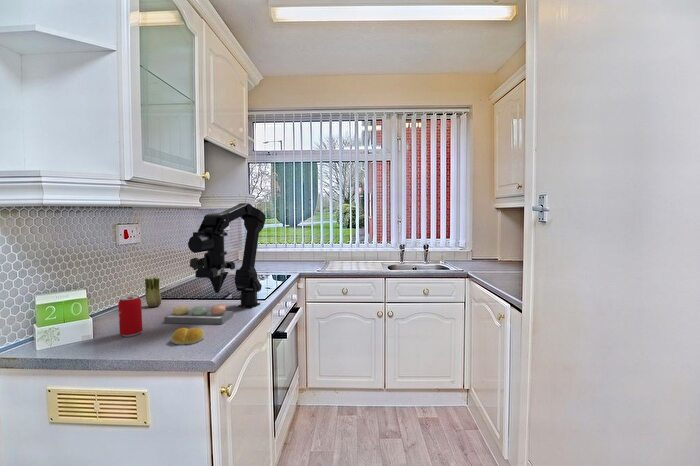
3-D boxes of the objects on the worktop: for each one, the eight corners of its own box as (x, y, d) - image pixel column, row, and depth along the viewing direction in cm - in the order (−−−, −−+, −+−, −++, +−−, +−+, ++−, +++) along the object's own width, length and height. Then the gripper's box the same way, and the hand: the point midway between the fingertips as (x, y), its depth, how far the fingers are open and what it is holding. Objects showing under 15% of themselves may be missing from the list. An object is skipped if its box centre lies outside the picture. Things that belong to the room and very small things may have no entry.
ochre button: (178, 310, 132) (177, 305, 132) (191, 311, 132) (190, 305, 131) (170, 314, 127) (170, 309, 127) (183, 315, 127) (183, 309, 126)
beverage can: (138, 329, 118) (136, 293, 118) (145, 333, 114) (144, 296, 114) (116, 334, 114) (114, 297, 113) (123, 339, 110) (122, 300, 109)
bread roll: (201, 344, 106) (200, 331, 106) (168, 346, 104) (168, 333, 104) (207, 334, 114) (206, 322, 114) (176, 336, 112) (176, 324, 112)
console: (178, 315, 134) (178, 309, 134) (232, 316, 132) (232, 310, 132) (164, 322, 125) (164, 316, 125) (222, 324, 123) (222, 318, 123)
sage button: (196, 311, 131) (196, 306, 131) (209, 311, 131) (209, 306, 131) (189, 315, 126) (189, 309, 126) (202, 315, 126) (202, 310, 126)
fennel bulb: (144, 306, 146) (142, 277, 145) (155, 304, 150) (154, 275, 149) (152, 308, 143) (151, 279, 142) (164, 306, 147) (163, 277, 146)
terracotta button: (214, 309, 131) (214, 304, 131) (227, 310, 130) (227, 304, 130) (208, 313, 126) (208, 308, 126) (221, 314, 125) (221, 308, 125)
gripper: (206, 246, 137) (208, 286, 138) (179, 252, 118) (181, 299, 119) (235, 246, 135) (236, 287, 137) (211, 252, 117) (213, 299, 118)
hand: (217, 292), depth 128 cm, fingers closed
